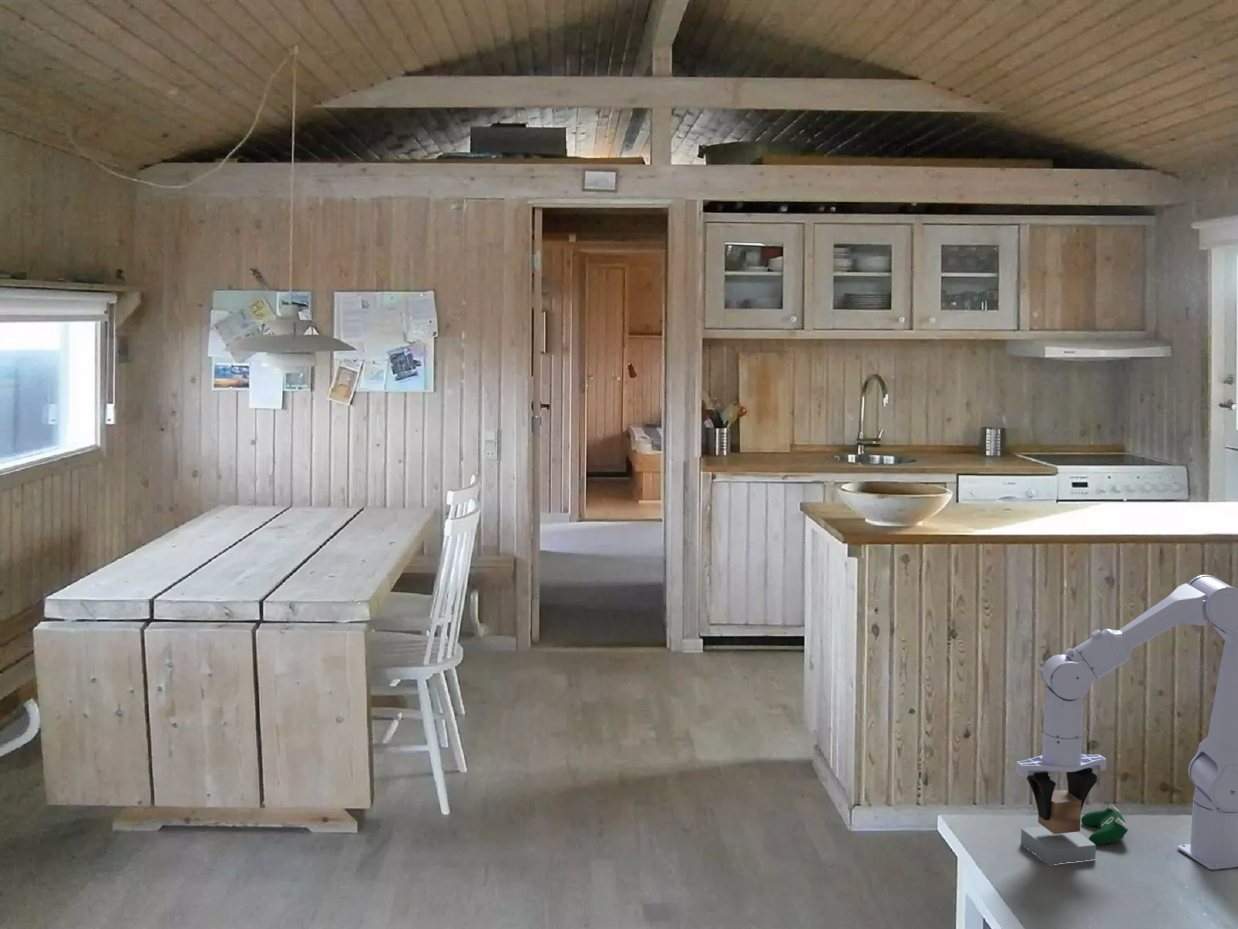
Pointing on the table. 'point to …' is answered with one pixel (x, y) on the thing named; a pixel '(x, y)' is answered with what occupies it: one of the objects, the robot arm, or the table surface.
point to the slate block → (1057, 845)
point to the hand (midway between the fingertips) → (1058, 816)
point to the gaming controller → (1106, 825)
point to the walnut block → (1063, 813)
